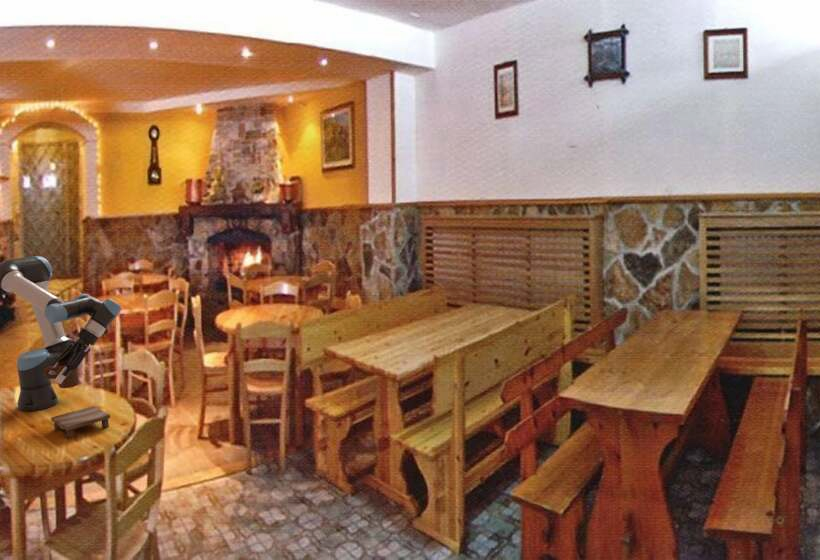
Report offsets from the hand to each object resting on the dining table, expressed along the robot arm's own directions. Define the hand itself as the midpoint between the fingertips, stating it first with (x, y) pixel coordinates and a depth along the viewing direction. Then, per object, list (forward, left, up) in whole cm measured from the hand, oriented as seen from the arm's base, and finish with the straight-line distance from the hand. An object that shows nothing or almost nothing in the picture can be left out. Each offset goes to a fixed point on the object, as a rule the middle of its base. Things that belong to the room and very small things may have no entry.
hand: (53, 380), depth 258 cm
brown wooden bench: (+16, +3, -17) cm, 24 cm away
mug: (0, +3, -4) cm, 5 cm away
